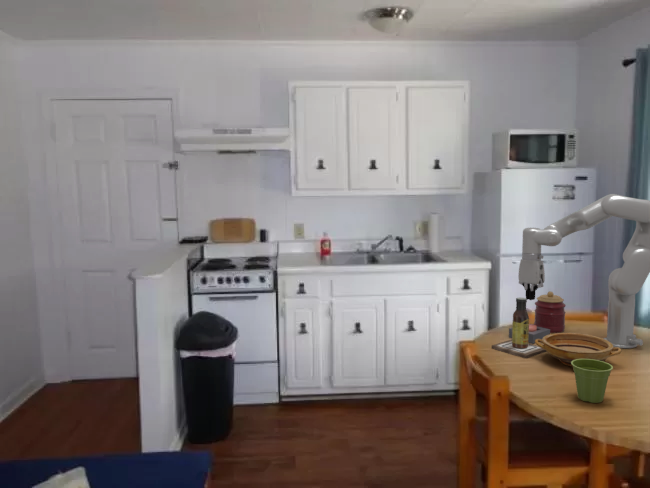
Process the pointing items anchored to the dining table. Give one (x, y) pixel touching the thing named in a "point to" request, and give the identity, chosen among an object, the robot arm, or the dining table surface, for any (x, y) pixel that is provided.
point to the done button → (532, 328)
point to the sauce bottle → (520, 324)
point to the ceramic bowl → (577, 347)
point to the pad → (519, 349)
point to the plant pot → (591, 379)
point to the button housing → (534, 334)
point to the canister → (550, 313)
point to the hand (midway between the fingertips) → (530, 299)
